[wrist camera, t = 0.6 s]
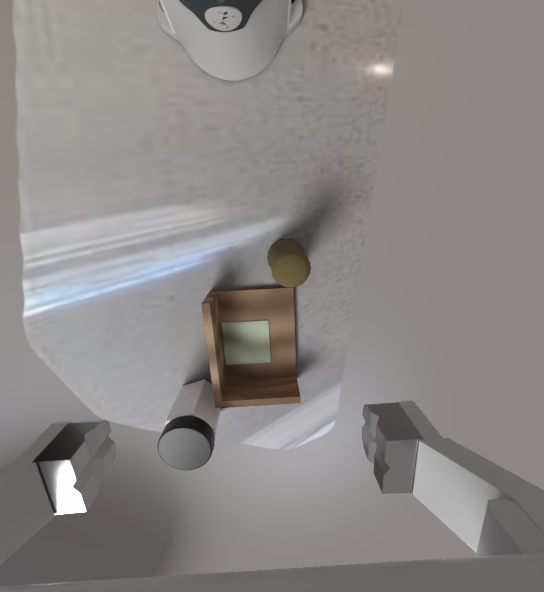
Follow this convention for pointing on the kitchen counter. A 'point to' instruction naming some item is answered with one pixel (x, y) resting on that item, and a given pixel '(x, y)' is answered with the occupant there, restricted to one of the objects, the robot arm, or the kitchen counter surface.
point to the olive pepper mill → (288, 263)
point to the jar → (190, 427)
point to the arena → (251, 346)
